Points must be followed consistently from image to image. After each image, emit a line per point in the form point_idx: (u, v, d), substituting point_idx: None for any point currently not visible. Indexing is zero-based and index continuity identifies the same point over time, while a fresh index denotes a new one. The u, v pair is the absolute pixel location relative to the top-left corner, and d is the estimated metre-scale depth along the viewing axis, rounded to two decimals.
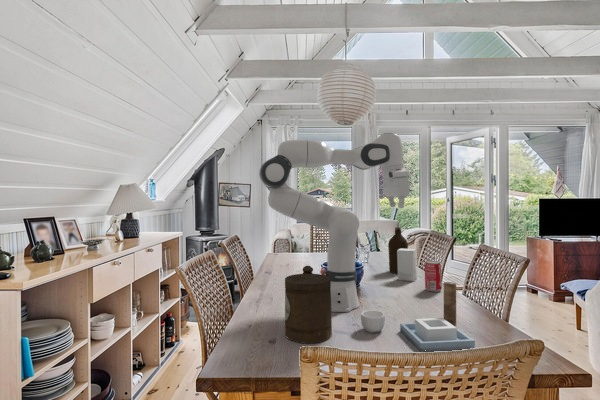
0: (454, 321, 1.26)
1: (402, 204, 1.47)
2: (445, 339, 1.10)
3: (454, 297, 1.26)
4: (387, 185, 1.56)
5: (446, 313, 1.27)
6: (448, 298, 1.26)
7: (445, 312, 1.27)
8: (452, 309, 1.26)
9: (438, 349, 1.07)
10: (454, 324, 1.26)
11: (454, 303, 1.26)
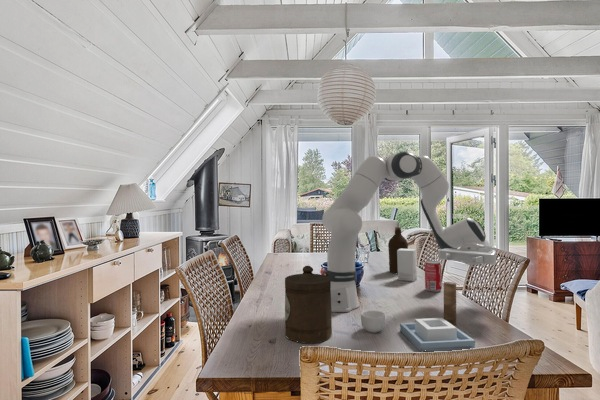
0: (454, 321, 1.26)
1: (477, 261, 1.35)
2: (445, 339, 1.10)
3: (454, 297, 1.26)
4: (456, 250, 1.47)
5: (446, 313, 1.27)
6: (448, 298, 1.26)
7: (445, 312, 1.27)
8: (452, 309, 1.26)
9: (438, 349, 1.07)
10: (454, 324, 1.26)
11: (454, 303, 1.26)
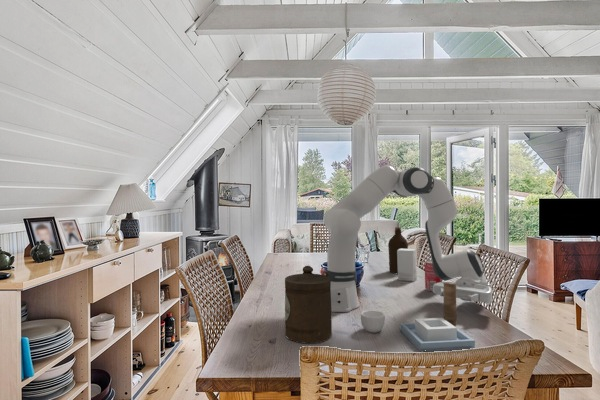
0: (454, 321, 1.26)
1: (473, 299, 1.31)
2: (445, 339, 1.10)
3: (454, 297, 1.26)
4: None
5: (446, 313, 1.27)
6: (448, 298, 1.26)
7: (445, 312, 1.27)
8: (452, 309, 1.26)
9: (438, 349, 1.07)
10: (454, 324, 1.26)
11: (454, 303, 1.26)
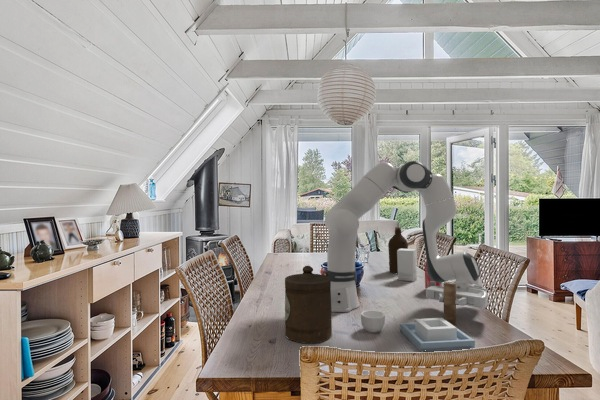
0: (454, 321, 1.26)
1: (460, 303, 1.26)
2: (445, 339, 1.10)
3: (454, 297, 1.26)
4: None
5: (446, 313, 1.27)
6: (448, 298, 1.26)
7: (445, 312, 1.27)
8: (452, 309, 1.26)
9: (438, 349, 1.07)
10: (454, 324, 1.26)
11: (454, 303, 1.26)
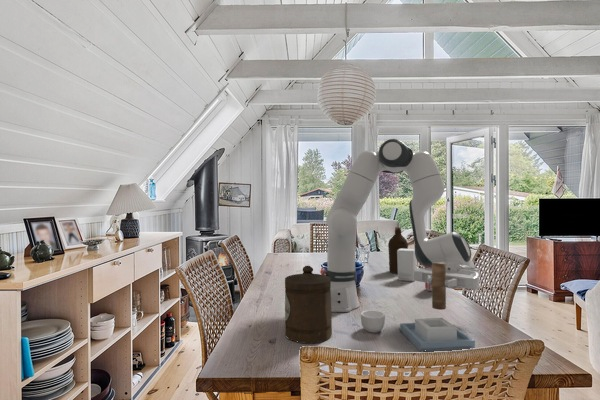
0: (443, 304, 1.16)
1: (450, 284, 1.16)
2: (445, 339, 1.10)
3: (443, 278, 1.16)
4: None
5: (434, 295, 1.17)
6: (437, 279, 1.16)
7: (434, 294, 1.17)
8: (441, 291, 1.16)
9: (438, 349, 1.07)
10: (443, 307, 1.16)
11: (443, 284, 1.16)
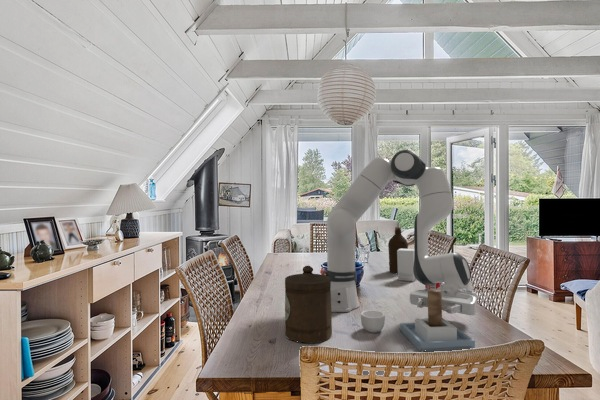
0: None
1: (453, 311, 1.12)
2: (445, 339, 1.10)
3: (439, 306, 1.13)
4: None
5: (431, 324, 1.14)
6: (433, 307, 1.13)
7: (430, 323, 1.14)
8: (437, 320, 1.13)
9: (438, 349, 1.07)
10: None
11: (439, 313, 1.13)
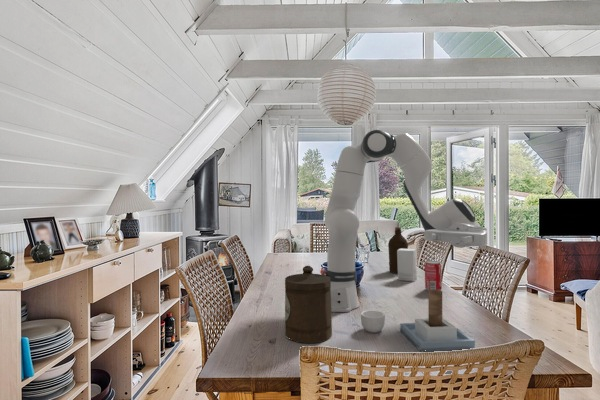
0: None
1: (466, 240, 1.21)
2: (445, 339, 1.10)
3: (440, 307, 1.13)
4: (444, 231, 1.33)
5: (431, 324, 1.14)
6: (433, 307, 1.13)
7: (430, 323, 1.14)
8: (437, 320, 1.13)
9: (438, 349, 1.07)
10: None
11: (440, 313, 1.13)
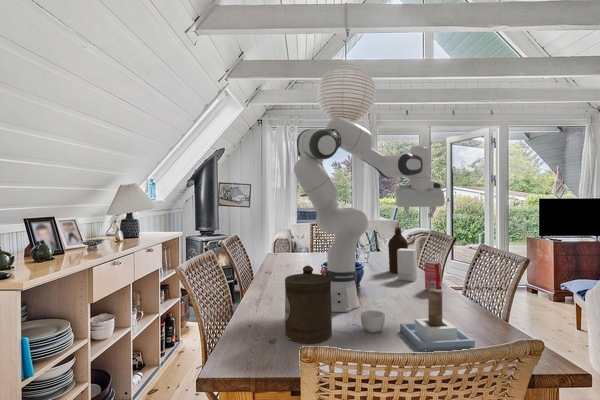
0: None
1: None
2: (445, 339, 1.10)
3: (440, 307, 1.13)
4: (411, 196, 1.56)
5: (431, 324, 1.14)
6: (433, 307, 1.13)
7: (430, 323, 1.14)
8: (437, 320, 1.13)
9: (438, 349, 1.07)
10: None
11: (440, 313, 1.13)
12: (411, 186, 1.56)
